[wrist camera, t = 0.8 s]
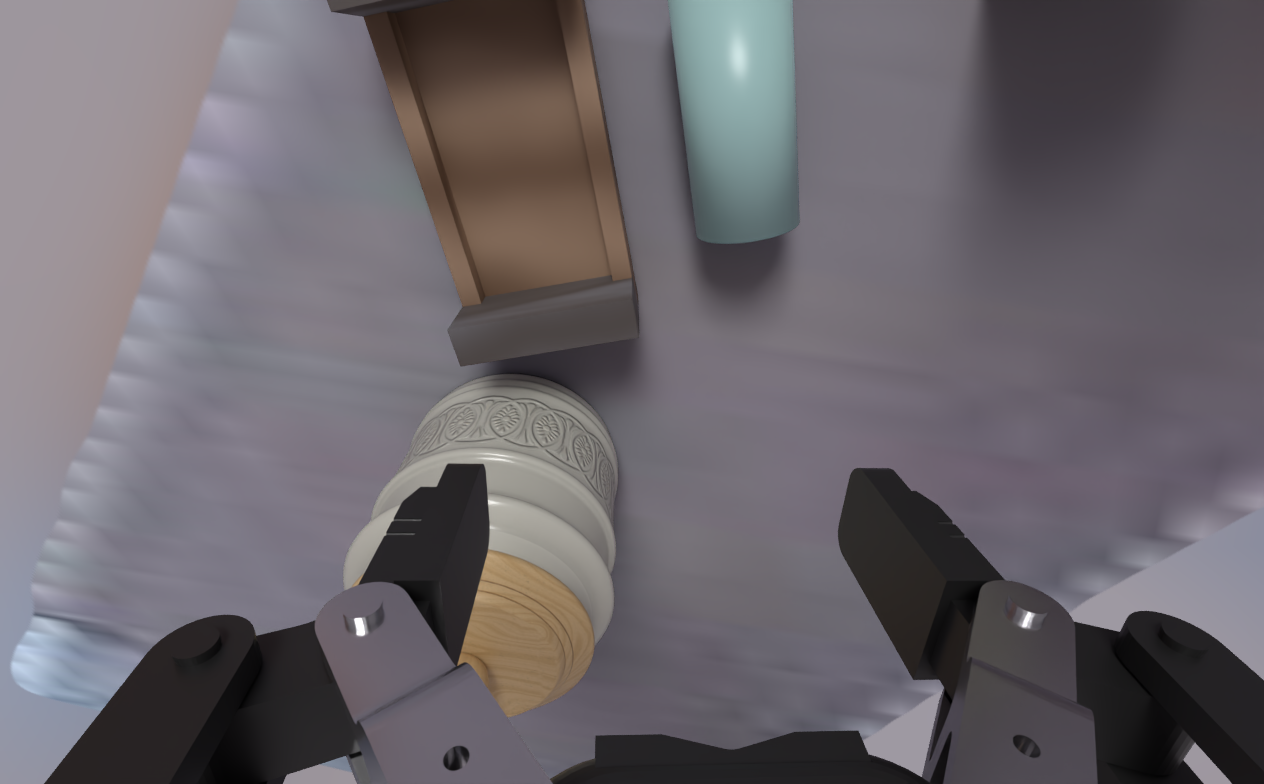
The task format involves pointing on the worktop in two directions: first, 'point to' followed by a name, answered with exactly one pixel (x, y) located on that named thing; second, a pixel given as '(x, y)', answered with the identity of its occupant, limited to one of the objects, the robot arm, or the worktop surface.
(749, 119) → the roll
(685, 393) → the worktop surface
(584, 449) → the jar
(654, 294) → the worktop surface
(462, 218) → the holder
